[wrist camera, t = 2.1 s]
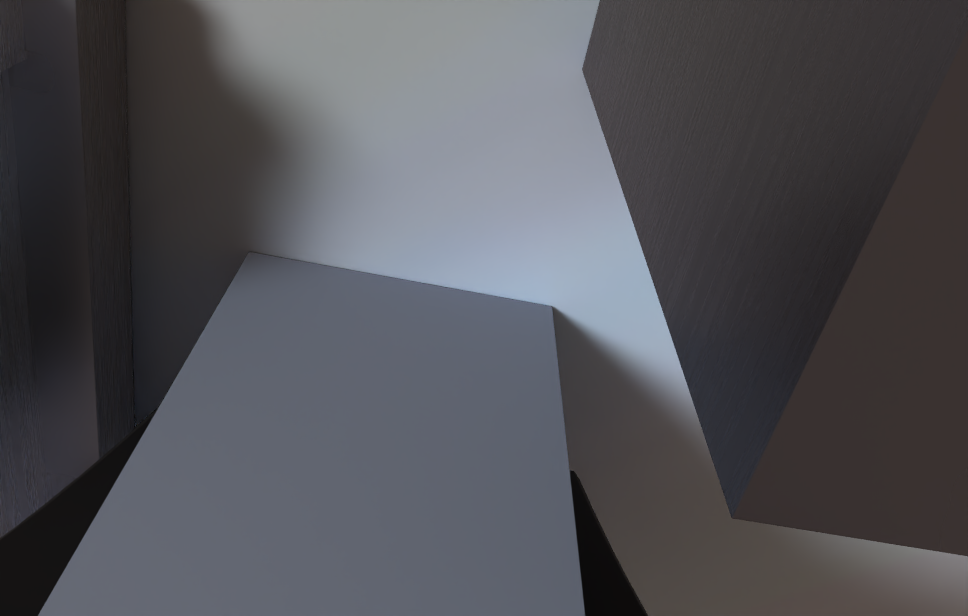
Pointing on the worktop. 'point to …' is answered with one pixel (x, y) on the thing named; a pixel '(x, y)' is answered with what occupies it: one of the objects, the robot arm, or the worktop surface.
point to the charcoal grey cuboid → (806, 245)
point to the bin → (62, 246)
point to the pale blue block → (344, 462)
